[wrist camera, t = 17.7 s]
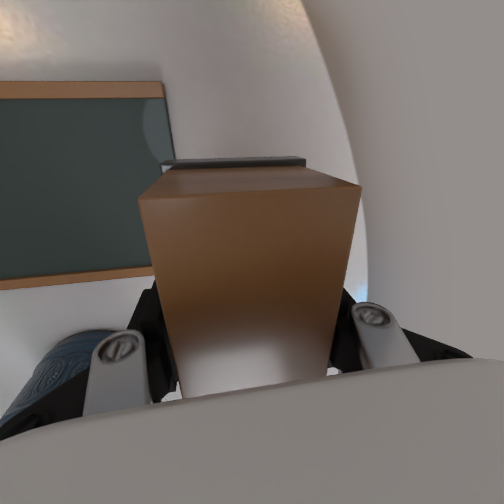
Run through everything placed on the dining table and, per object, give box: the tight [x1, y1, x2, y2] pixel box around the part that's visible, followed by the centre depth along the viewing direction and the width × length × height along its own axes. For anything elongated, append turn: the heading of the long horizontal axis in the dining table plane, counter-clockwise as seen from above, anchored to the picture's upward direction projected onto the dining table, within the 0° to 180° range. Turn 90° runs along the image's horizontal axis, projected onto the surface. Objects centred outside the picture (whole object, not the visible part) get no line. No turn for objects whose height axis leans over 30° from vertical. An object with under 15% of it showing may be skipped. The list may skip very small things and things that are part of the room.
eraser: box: [137, 156, 362, 399], centre depth 9 cm, size 11×5×5 cm, turn 1°
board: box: [0, 81, 175, 290], centre depth 20 cm, size 16×22×1 cm
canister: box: [0, 331, 114, 427], centre depth 22 cm, size 13×13×18 cm
